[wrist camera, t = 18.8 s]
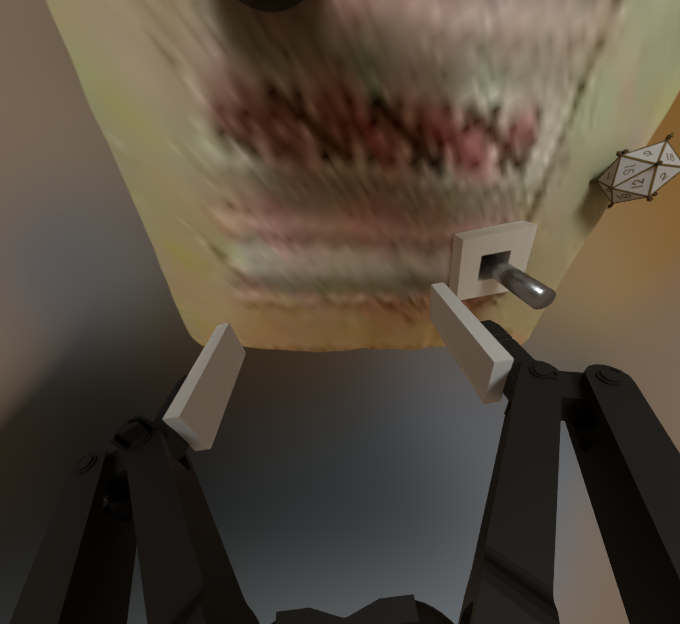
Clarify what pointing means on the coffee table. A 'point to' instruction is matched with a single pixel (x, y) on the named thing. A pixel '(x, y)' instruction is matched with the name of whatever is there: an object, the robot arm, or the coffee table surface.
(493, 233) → the socket block
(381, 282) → the coffee table surface
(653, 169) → the game die
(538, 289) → the pin
